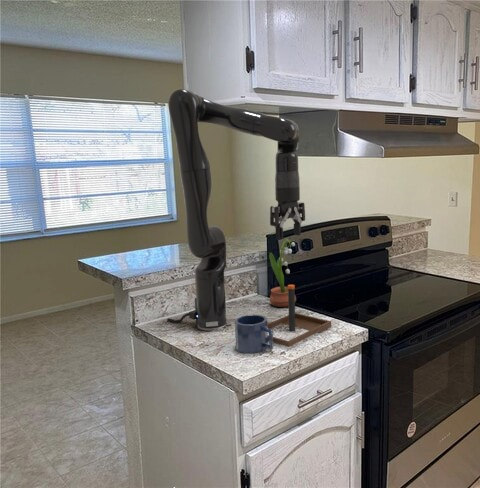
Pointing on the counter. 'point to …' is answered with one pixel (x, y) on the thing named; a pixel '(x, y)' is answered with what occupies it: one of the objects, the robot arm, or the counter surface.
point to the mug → (252, 334)
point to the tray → (301, 322)
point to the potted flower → (280, 278)
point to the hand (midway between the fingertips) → (288, 237)
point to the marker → (291, 307)
